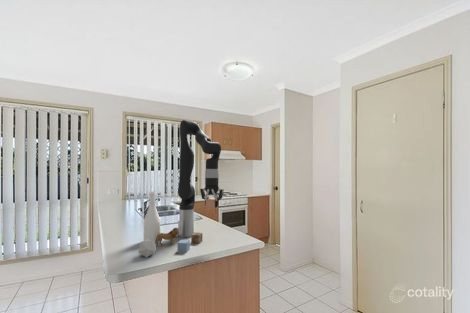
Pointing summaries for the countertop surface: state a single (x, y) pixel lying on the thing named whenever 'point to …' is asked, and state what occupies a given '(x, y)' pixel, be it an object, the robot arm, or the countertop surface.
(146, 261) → the countertop surface
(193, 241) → the walnut cube
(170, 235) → the lion figurine
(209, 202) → the terracotta cube
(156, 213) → the wine bottle
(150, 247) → the grey rounded lump
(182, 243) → the slate blue cube
